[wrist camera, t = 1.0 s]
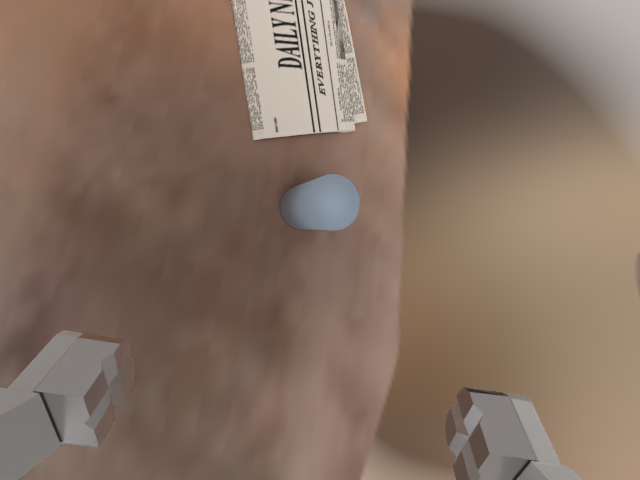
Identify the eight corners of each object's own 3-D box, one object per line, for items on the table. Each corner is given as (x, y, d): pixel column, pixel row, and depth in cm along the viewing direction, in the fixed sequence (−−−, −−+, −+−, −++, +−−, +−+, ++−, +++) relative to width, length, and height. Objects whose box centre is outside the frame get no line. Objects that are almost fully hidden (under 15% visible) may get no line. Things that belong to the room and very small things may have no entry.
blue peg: (271, 210, 37) (295, 205, 28) (298, 176, 37) (330, 162, 29) (304, 238, 38) (337, 241, 29) (330, 204, 39) (369, 199, 30)
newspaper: (365, 132, 40) (373, 127, 38) (251, 144, 38) (253, 139, 35) (336, -93, 38) (343, -114, 36) (213, -97, 36) (212, -120, 33)
